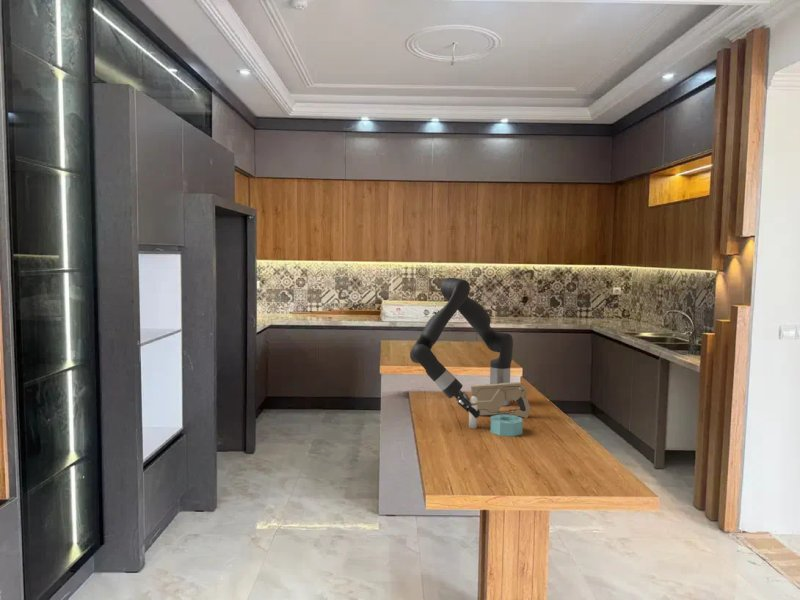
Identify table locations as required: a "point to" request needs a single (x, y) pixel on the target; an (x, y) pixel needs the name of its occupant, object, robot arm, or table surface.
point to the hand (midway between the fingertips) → (478, 415)
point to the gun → (500, 398)
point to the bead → (506, 425)
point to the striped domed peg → (472, 419)
